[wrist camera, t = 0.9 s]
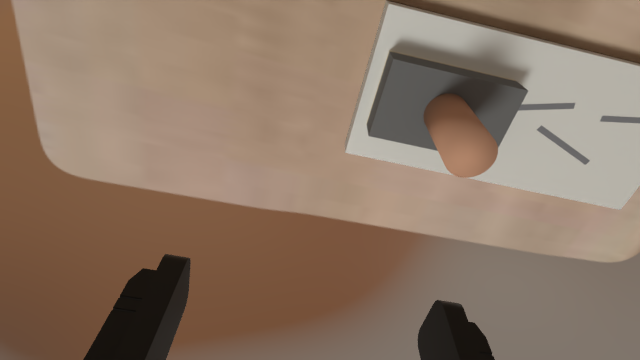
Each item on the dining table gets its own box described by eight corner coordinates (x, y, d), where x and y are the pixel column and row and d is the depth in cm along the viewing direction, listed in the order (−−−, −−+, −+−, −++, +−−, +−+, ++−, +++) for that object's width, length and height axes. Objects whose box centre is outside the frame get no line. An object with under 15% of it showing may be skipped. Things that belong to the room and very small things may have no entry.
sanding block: (366, 123, 32) (376, 179, 25) (389, 50, 29) (408, 90, 22) (481, 148, 33) (523, 209, 26) (515, 80, 30) (573, 128, 23)
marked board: (344, 144, 35) (345, 152, 34) (386, 0, 29) (388, 3, 27) (610, 200, 37) (620, 209, 36) (703, 79, 31) (719, 86, 30)
